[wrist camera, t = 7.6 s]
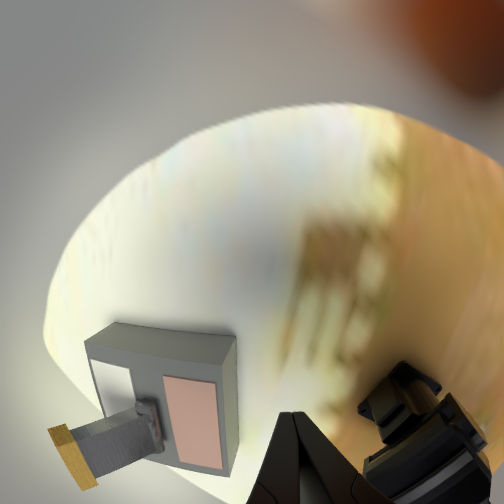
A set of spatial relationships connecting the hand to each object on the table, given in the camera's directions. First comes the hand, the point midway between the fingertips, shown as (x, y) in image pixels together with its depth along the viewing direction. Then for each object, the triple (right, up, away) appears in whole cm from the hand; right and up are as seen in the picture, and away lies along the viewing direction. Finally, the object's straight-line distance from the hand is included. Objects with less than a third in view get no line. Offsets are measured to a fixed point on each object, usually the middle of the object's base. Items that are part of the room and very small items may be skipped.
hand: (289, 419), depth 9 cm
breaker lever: (-9, -8, +10) cm, 16 cm away
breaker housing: (-9, -8, +16) cm, 20 cm away
